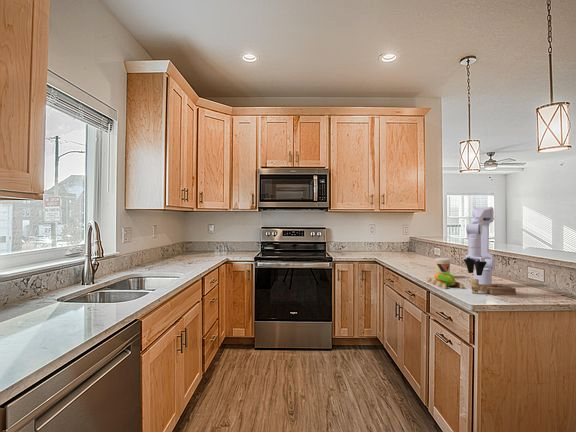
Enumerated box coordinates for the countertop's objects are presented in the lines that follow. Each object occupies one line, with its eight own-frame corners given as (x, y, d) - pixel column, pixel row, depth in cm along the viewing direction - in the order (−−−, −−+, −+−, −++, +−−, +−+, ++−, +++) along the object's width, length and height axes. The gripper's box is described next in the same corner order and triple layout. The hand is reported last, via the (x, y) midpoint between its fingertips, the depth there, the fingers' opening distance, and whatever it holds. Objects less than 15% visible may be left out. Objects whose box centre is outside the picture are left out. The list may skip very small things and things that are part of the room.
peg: (470, 292, 175) (470, 279, 175) (476, 292, 175) (476, 278, 175) (473, 294, 171) (473, 280, 171) (480, 294, 171) (480, 280, 171)
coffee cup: (436, 278, 215) (436, 259, 215) (433, 276, 224) (432, 257, 224) (452, 278, 214) (452, 259, 214) (448, 276, 223) (447, 257, 223)
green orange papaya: (446, 274, 186) (428, 268, 206) (445, 288, 186) (428, 281, 206) (459, 274, 186) (440, 269, 206) (458, 288, 186) (440, 282, 206)
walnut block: (478, 289, 181) (477, 284, 181) (500, 289, 181) (500, 283, 181) (491, 294, 169) (491, 288, 169) (515, 294, 169) (515, 288, 169)
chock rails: (426, 281, 207) (426, 276, 207) (443, 280, 207) (443, 276, 207) (444, 288, 184) (444, 284, 184) (463, 288, 184) (463, 284, 184)
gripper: (459, 246, 180) (459, 271, 180) (474, 248, 166) (475, 276, 166) (472, 246, 180) (472, 271, 180) (489, 248, 166) (489, 276, 166)
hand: (474, 274), depth 173 cm, fingers open, 7 cm apart
